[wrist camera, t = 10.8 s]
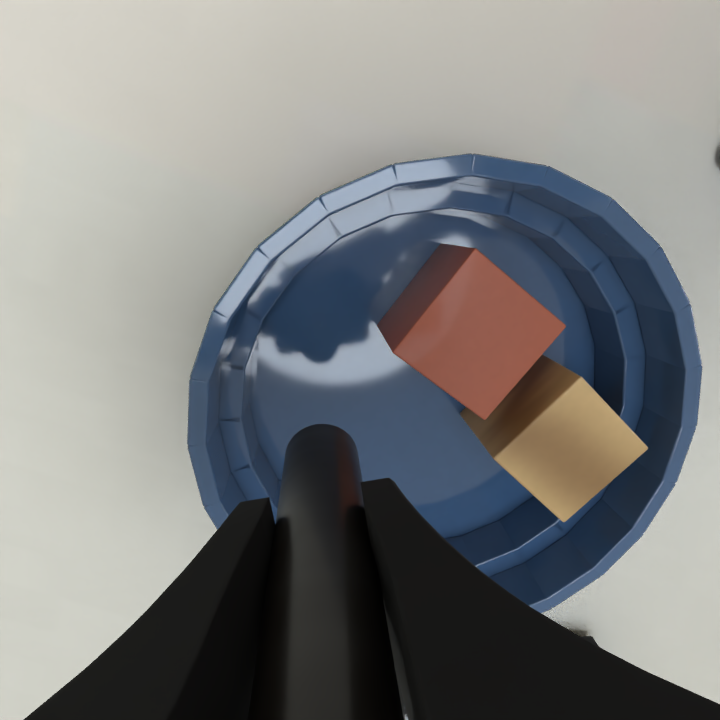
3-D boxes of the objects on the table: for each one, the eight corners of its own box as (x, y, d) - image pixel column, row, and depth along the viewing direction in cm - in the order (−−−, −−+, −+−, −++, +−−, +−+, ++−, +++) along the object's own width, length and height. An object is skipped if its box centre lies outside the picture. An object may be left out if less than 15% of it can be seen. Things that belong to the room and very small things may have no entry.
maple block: (528, 345, 19) (581, 376, 15) (586, 405, 20) (650, 448, 16) (458, 413, 20) (493, 459, 16) (518, 468, 21) (564, 523, 17)
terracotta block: (440, 242, 17) (475, 247, 14) (515, 305, 18) (567, 326, 15) (376, 325, 18) (391, 352, 14) (451, 382, 19) (485, 421, 15)
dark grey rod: (313, 409, 12) (303, 832, 4) (372, 447, 13) (480, 902, 4) (270, 464, 13) (172, 967, 4) (329, 499, 13) (351, 1017, 5)
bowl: (394, 66, 16) (422, 8, 12) (696, 347, 20) (798, 380, 16) (135, 434, 19) (82, 495, 15) (445, 614, 23) (475, 703, 19)
